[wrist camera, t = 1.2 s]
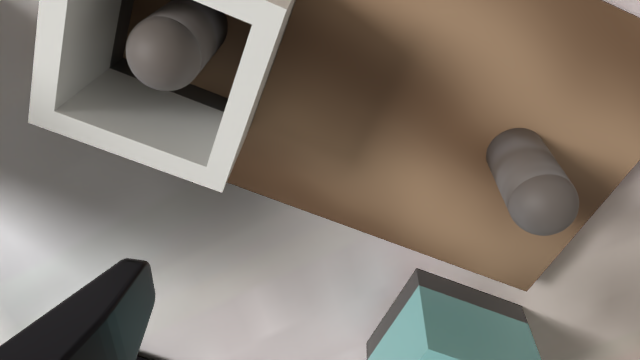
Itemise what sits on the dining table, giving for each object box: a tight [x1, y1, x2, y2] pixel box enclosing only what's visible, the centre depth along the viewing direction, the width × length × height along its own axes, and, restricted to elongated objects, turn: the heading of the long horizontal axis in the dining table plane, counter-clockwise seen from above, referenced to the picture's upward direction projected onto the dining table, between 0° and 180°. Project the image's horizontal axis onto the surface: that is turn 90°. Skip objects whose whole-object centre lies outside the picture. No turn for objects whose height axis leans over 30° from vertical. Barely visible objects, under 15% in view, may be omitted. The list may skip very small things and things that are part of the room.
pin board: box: [123, 0, 640, 292], centre depth 18 cm, size 12×22×6 cm, turn 68°
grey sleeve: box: [28, 0, 296, 193], centre depth 16 cm, size 6×6×5 cm
